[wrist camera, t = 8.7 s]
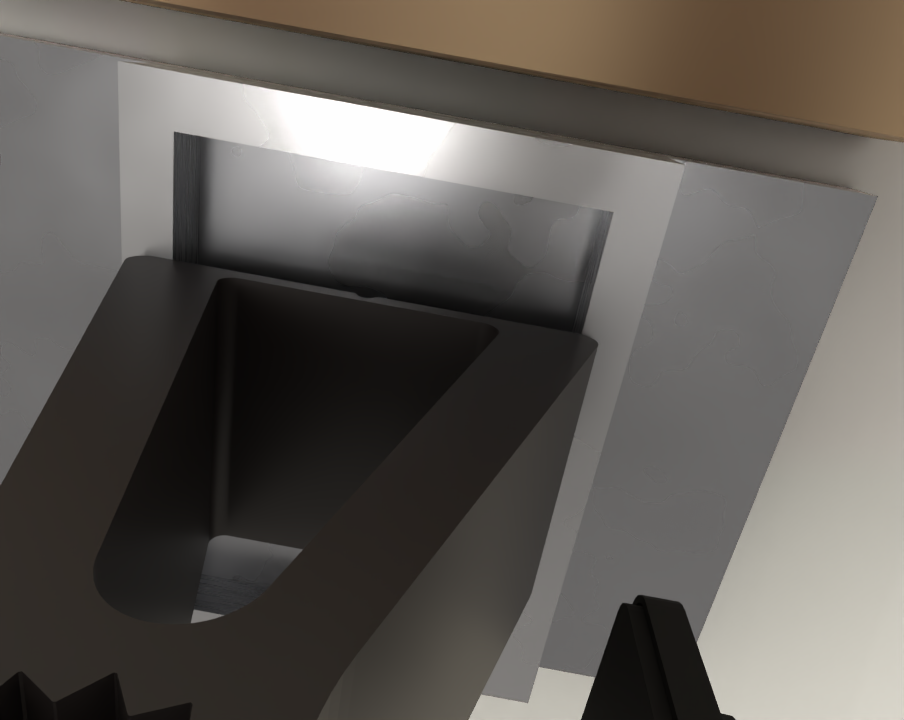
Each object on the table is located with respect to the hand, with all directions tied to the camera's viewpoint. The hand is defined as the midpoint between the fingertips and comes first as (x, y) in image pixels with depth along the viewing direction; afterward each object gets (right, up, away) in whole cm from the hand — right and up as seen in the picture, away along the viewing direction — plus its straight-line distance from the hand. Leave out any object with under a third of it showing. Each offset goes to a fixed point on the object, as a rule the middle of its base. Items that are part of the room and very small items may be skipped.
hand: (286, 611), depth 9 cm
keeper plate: (+1, +3, +7) cm, 7 cm away
